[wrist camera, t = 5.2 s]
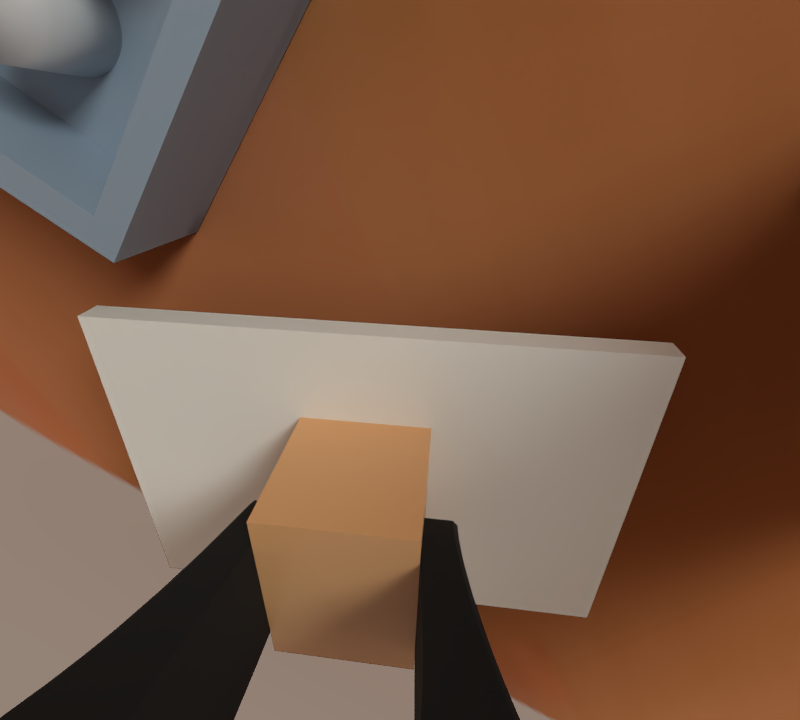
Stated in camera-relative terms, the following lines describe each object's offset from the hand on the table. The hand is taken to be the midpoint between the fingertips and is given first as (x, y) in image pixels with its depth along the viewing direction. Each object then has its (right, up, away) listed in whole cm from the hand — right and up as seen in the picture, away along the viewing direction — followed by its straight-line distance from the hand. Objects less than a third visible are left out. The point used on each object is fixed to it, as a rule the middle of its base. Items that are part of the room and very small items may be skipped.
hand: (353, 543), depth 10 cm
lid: (0, +1, +2) cm, 2 cm away
